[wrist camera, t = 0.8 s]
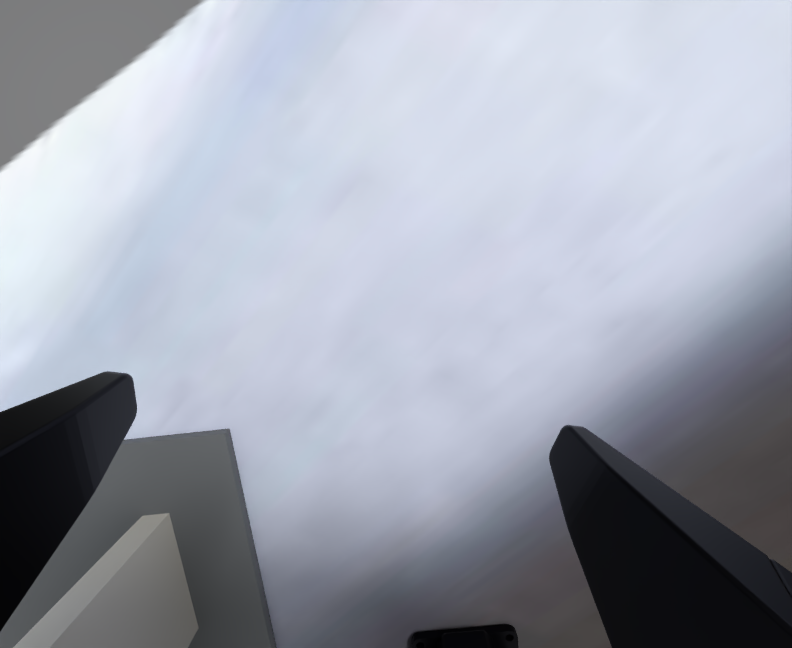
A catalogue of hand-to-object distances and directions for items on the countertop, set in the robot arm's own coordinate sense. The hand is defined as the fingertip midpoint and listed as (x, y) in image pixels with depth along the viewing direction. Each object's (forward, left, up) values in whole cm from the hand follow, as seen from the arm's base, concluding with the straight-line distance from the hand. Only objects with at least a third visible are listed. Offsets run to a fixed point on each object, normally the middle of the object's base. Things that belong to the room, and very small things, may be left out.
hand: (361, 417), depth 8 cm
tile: (-14, +15, -12) cm, 23 cm away
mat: (-13, +20, -12) cm, 27 cm away
